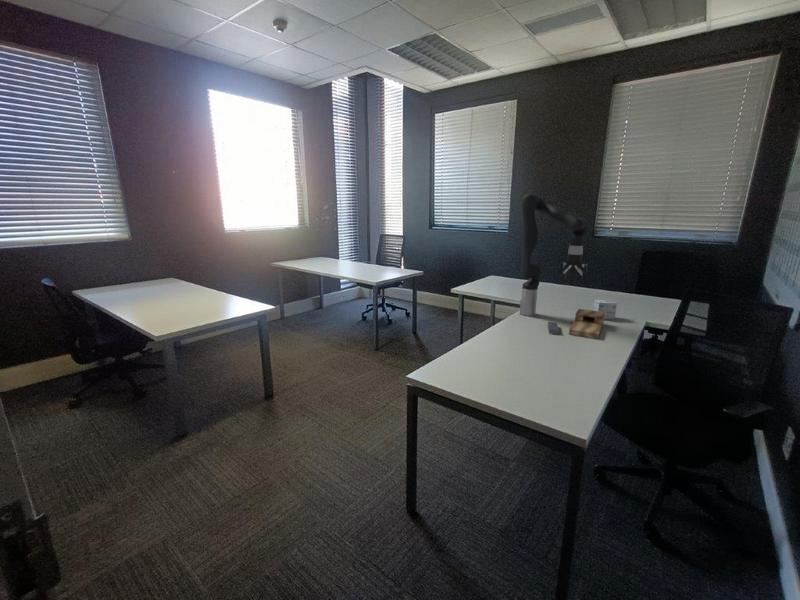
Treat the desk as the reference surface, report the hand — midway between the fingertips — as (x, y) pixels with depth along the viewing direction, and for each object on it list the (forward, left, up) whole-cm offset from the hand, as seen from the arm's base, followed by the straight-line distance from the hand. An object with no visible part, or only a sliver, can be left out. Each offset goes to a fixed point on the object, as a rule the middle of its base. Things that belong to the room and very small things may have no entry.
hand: (572, 280), depth 215 cm
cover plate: (-4, -21, -26) cm, 33 cm away
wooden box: (+12, -9, -25) cm, 29 cm away
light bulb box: (+18, +19, -26) cm, 36 cm away
